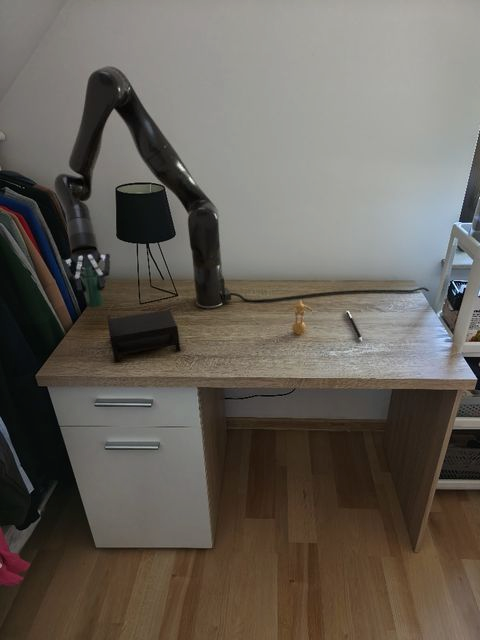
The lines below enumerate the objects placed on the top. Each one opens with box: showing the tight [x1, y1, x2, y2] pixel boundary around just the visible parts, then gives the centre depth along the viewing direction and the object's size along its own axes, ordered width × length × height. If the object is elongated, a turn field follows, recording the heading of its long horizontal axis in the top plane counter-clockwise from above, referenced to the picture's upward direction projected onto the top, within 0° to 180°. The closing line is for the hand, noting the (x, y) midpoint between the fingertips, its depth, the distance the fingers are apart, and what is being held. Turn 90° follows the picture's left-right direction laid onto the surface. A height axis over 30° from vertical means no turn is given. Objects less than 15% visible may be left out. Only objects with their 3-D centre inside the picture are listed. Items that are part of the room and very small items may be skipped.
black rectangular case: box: [106, 309, 181, 363], centre depth 137 cm, size 18×13×8 cm
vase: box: [80, 266, 104, 308], centre depth 140 cm, size 5×5×12 cm
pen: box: [346, 310, 363, 342], centre depth 146 cm, size 1×19×1 cm, turn 4°
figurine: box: [284, 299, 315, 335], centre depth 140 cm, size 8×6×12 cm
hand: (91, 290), depth 138 cm, fingers closed on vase, 5 cm apart
